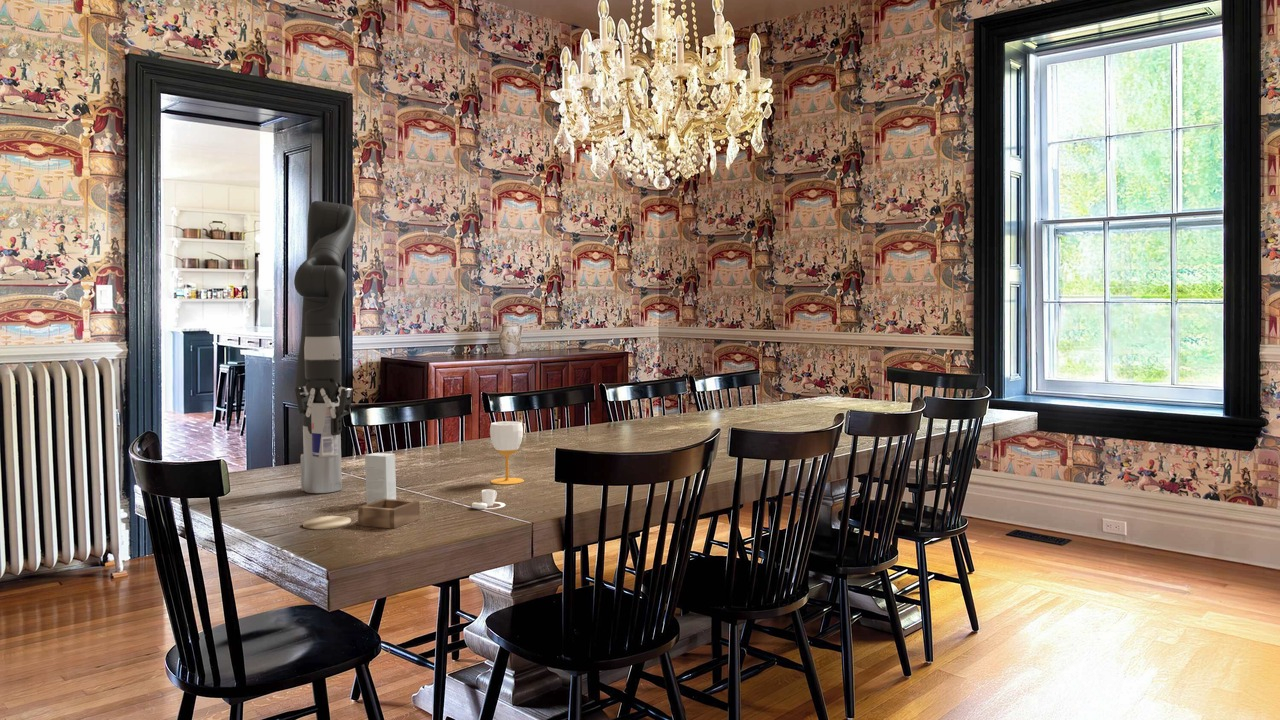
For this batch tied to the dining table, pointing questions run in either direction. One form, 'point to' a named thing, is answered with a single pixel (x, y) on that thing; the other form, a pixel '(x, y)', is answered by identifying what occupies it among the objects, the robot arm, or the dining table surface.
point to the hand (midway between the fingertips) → (324, 433)
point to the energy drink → (322, 432)
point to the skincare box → (380, 477)
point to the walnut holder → (388, 513)
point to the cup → (506, 445)
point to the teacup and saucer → (487, 500)
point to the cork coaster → (326, 522)
